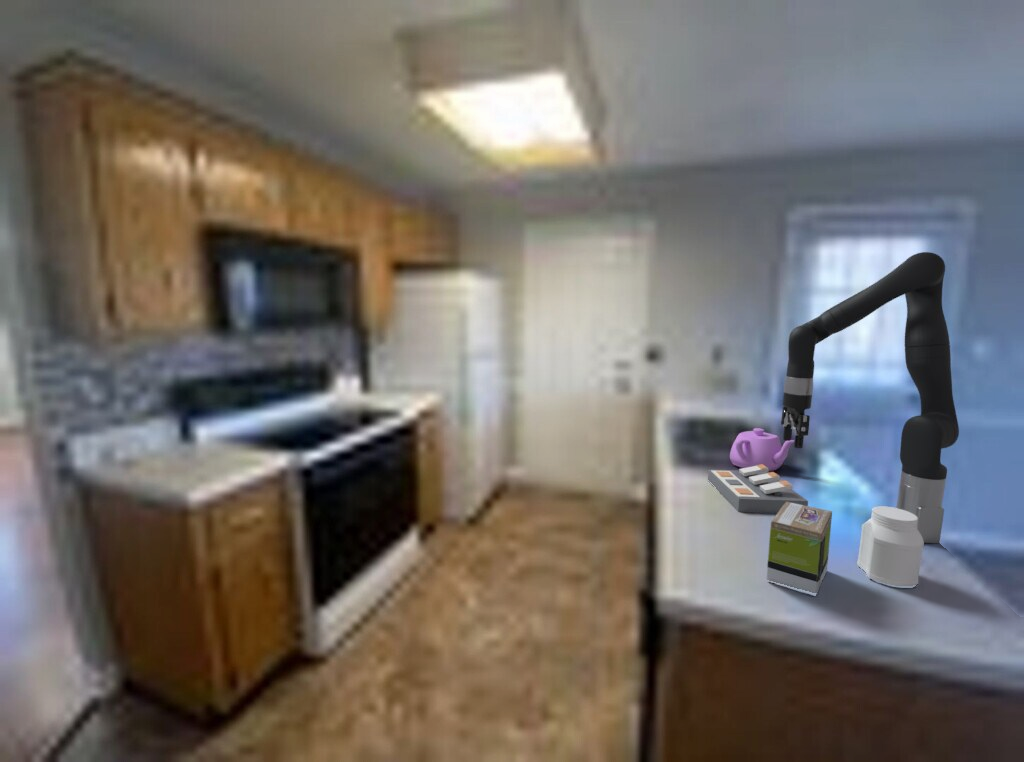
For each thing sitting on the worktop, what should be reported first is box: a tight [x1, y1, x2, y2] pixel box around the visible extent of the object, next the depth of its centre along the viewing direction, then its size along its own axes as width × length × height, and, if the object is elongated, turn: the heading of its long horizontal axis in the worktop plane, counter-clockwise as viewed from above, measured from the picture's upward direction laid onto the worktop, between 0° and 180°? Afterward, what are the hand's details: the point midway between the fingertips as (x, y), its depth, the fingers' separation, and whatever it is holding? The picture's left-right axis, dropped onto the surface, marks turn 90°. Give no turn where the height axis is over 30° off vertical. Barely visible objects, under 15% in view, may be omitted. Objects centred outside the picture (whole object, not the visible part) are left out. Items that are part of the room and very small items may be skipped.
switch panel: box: [707, 469, 809, 514], centre depth 164 cm, size 27×20×5 cm
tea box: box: [766, 502, 833, 594], centre depth 114 cm, size 15×10×15 cm, turn 141°
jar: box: [856, 505, 925, 586], centre depth 115 cm, size 12×10×15 cm
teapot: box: [729, 427, 794, 472], centre depth 189 cm, size 23×21×15 cm
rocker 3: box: [760, 479, 794, 494], centre depth 155 cm, size 4×8×1 cm, turn 87°
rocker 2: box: [749, 471, 781, 485], centre depth 163 cm, size 4×8×1 cm, turn 87°
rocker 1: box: [738, 464, 770, 476], centre depth 171 cm, size 4×8×1 cm, turn 87°
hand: (792, 443), depth 156 cm, fingers open, 8 cm apart
